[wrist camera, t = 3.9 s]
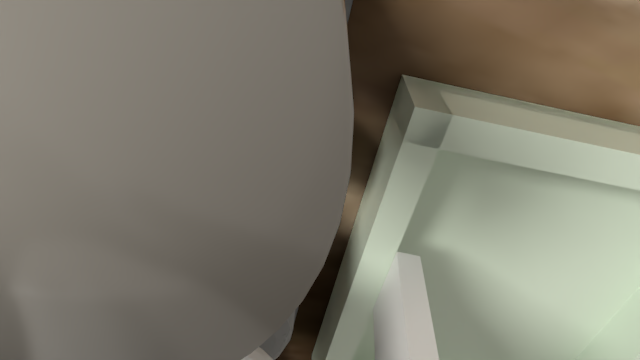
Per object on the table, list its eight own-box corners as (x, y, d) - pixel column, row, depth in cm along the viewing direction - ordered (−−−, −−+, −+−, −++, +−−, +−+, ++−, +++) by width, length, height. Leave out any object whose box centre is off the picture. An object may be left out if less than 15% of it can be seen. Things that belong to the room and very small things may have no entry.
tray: (311, 355, 20) (308, 406, 18) (402, 74, 13) (414, 107, 10) (547, 392, 21) (570, 446, 19) (759, 153, 14) (837, 197, 11)
